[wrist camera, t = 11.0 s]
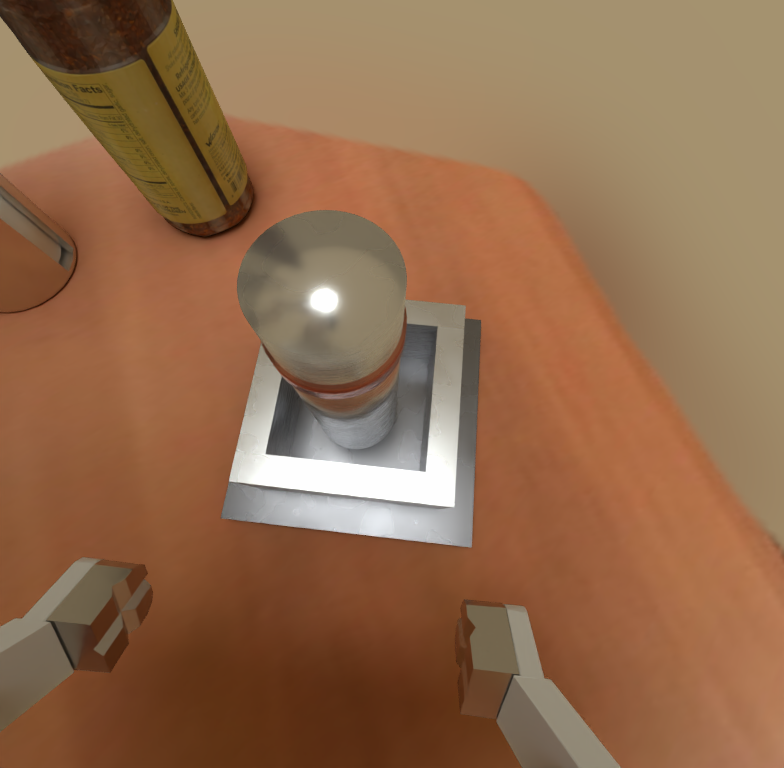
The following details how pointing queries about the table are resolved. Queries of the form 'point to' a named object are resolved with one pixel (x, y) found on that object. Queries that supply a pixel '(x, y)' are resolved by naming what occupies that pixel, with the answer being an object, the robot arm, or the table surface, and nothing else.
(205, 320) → the table surface
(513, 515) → the table surface
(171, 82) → the sauce bottle
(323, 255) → the cylinder
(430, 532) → the collar
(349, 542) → the table surface
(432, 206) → the table surface
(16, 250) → the silver piece
